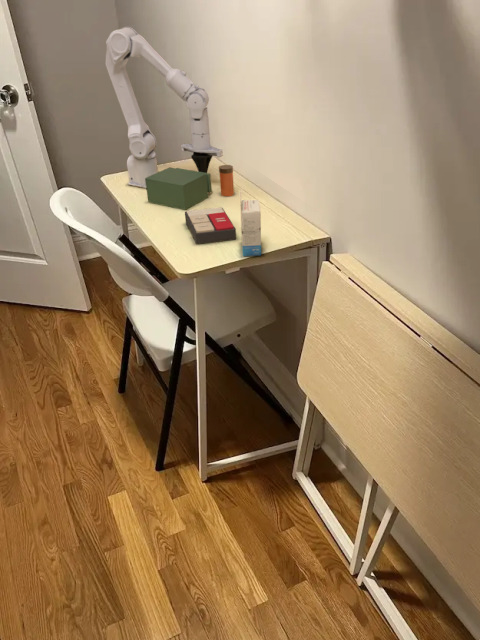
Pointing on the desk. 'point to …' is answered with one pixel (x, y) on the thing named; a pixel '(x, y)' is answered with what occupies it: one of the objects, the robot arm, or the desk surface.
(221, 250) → the desk surface
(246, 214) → the ink box
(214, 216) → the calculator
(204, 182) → the cabinet
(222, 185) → the spice jar
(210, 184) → the drawer
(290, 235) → the desk surface
